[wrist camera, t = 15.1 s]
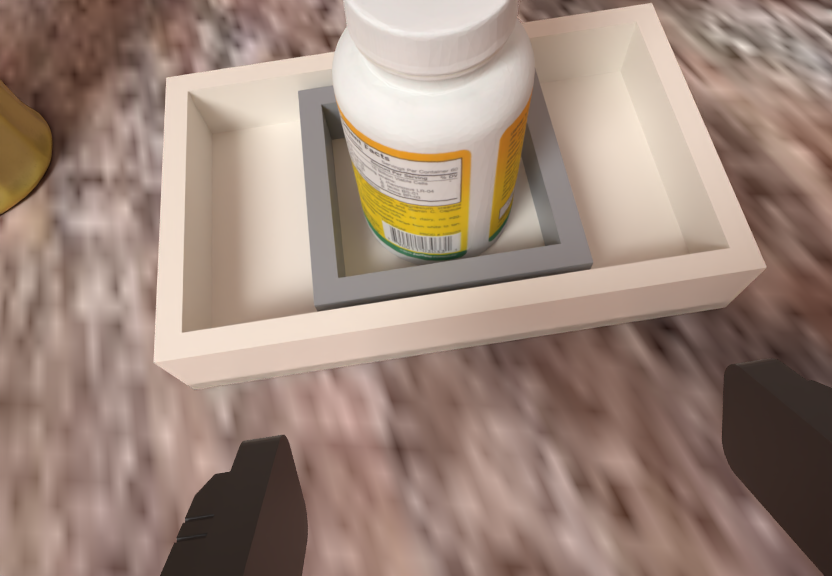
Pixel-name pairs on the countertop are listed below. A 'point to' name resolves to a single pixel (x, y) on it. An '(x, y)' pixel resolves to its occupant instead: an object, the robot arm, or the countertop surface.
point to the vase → (21, 149)
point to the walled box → (451, 280)
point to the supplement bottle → (434, 120)
